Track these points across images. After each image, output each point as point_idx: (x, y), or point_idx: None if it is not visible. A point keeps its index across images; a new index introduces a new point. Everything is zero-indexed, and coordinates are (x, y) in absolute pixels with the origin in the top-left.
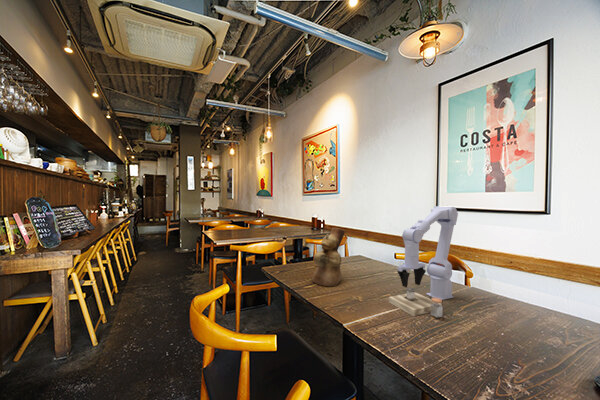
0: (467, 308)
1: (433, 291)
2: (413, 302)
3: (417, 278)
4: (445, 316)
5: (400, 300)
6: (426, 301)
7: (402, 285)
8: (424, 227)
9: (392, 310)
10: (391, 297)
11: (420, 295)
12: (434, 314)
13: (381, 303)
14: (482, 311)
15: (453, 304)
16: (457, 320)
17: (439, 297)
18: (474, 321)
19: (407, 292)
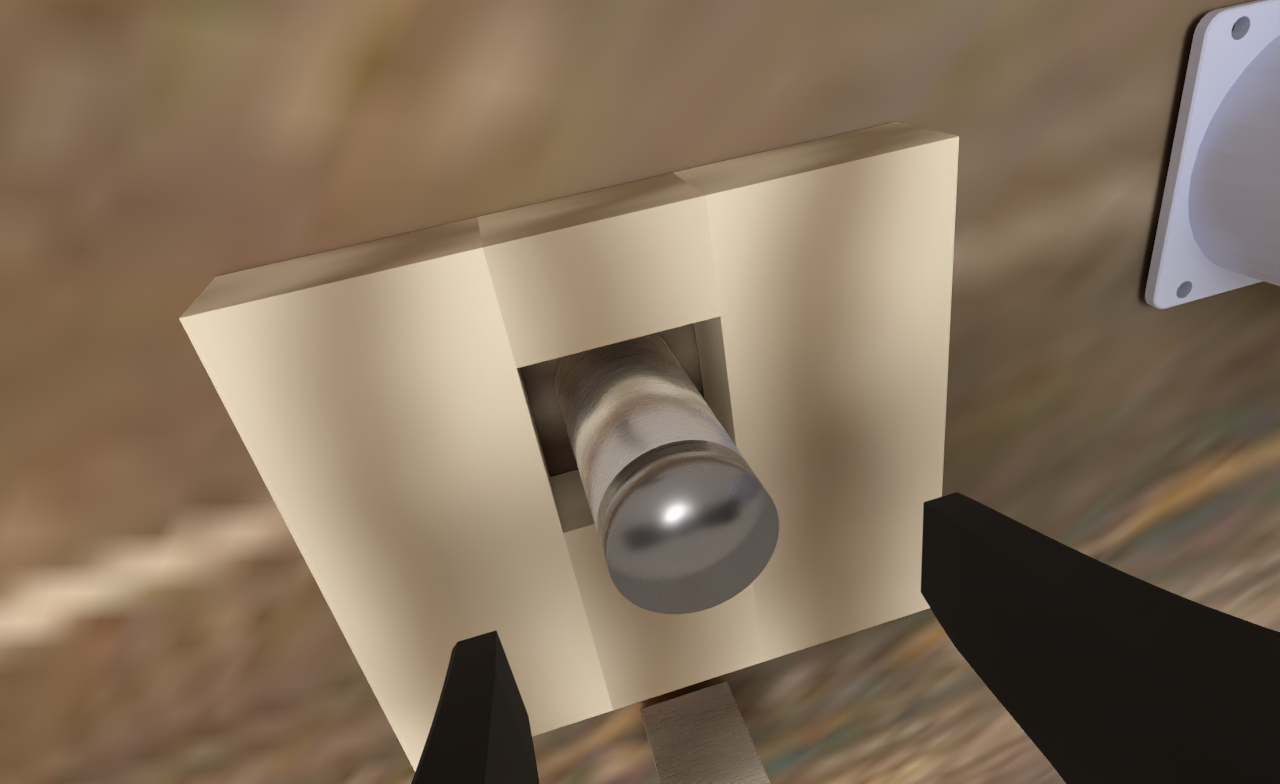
0: (1186, 522)
1: (1275, 195)
2: (577, 569)
3: (1046, 681)
4: (795, 682)
5: (377, 497)
6: (812, 534)
7: (450, 658)
8: None
9: (163, 571)
10: (234, 352)
11: (918, 309)
12: (654, 762)
13: (10, 305)
14: (1232, 579)
15: (1166, 424)
16: (835, 739)
17: (1209, 258)
18: (960, 741)
19: (590, 497)
